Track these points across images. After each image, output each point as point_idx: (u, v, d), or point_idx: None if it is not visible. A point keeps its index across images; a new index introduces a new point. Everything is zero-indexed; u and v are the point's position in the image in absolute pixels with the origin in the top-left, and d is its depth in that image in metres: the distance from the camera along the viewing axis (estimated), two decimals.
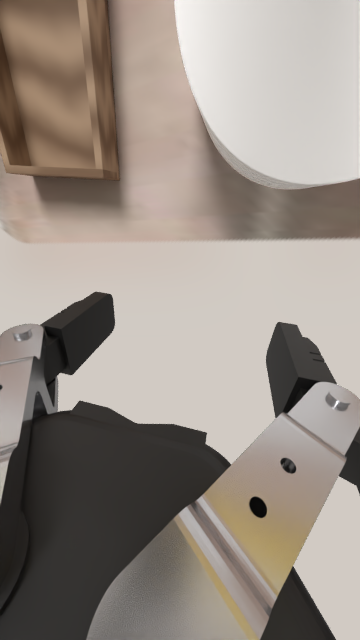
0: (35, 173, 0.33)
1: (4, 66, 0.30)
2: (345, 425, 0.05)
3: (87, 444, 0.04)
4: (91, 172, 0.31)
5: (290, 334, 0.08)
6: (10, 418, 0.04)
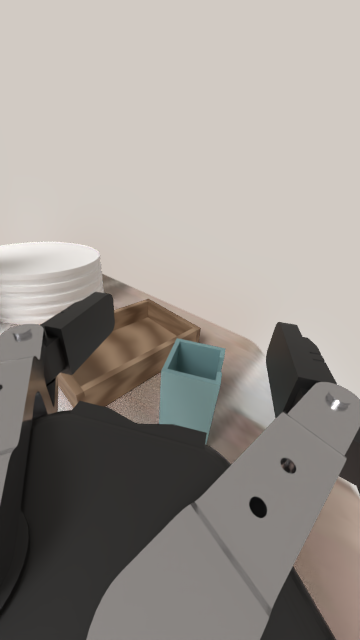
0: (181, 318, 0.45)
1: None
2: (345, 425, 0.05)
3: (87, 444, 0.04)
4: (151, 302, 0.50)
5: (290, 334, 0.08)
6: (10, 418, 0.04)
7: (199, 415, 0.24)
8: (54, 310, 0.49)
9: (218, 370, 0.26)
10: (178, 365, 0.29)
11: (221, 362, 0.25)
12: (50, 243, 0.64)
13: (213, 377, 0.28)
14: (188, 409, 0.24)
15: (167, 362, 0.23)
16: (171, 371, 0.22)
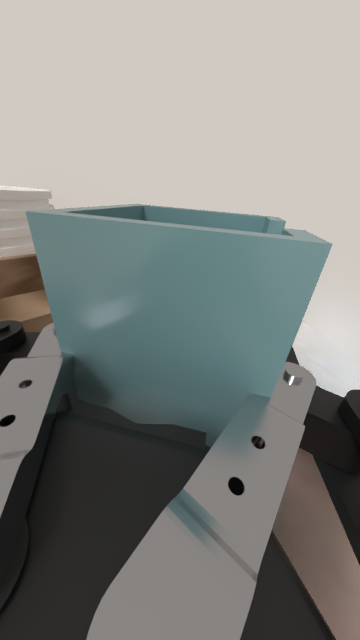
0: None
1: None
2: (294, 395, 0.06)
3: (87, 444, 0.04)
4: None
5: None
6: (32, 417, 0.04)
7: (207, 420, 0.07)
8: None
9: None
10: None
11: None
12: None
13: None
14: (166, 399, 0.06)
15: (76, 209, 0.06)
16: (76, 215, 0.05)
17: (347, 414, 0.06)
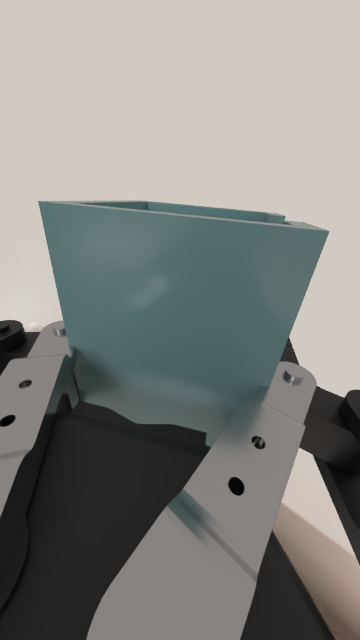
0: None
1: None
2: (294, 395, 0.06)
3: (87, 444, 0.04)
4: None
5: None
6: (32, 417, 0.04)
7: (209, 407, 0.07)
8: None
9: None
10: None
11: None
12: None
13: None
14: (170, 386, 0.07)
15: (84, 201, 0.06)
16: (86, 205, 0.05)
17: (347, 414, 0.06)
